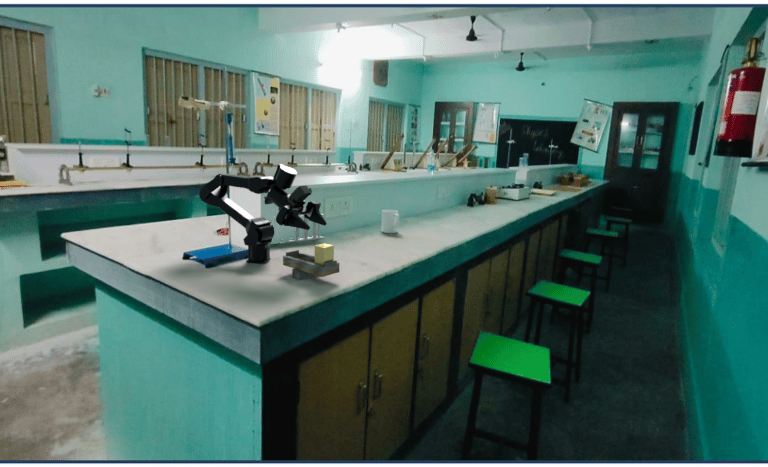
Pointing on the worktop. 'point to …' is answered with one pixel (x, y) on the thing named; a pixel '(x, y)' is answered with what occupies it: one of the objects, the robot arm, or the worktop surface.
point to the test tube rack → (306, 233)
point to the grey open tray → (308, 265)
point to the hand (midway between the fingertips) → (317, 226)
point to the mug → (389, 221)
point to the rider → (324, 253)
